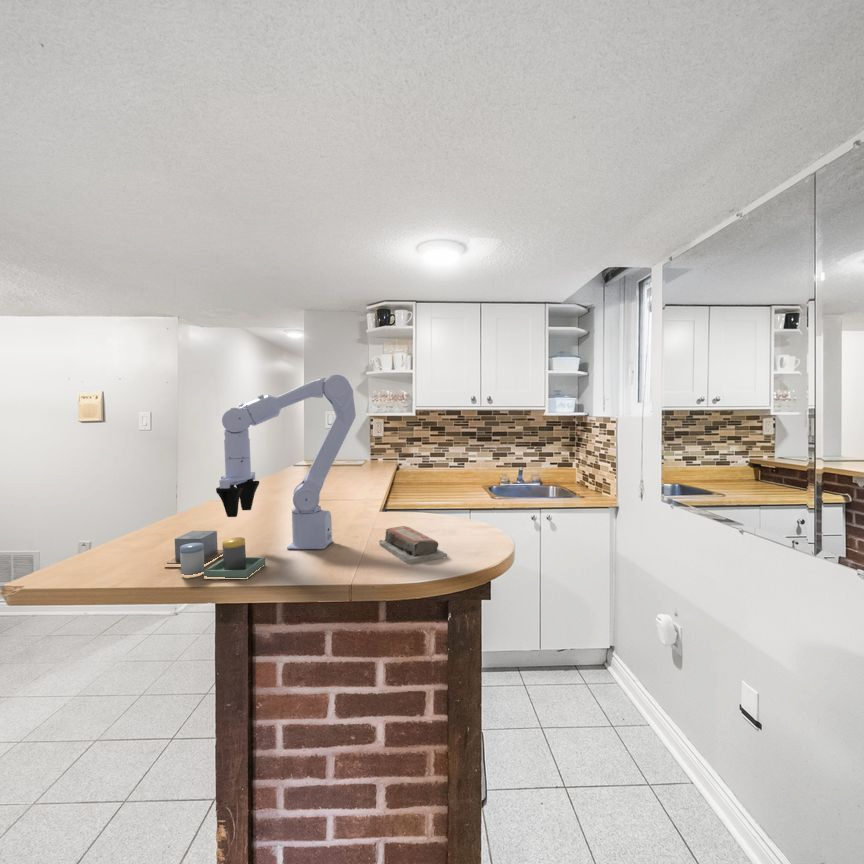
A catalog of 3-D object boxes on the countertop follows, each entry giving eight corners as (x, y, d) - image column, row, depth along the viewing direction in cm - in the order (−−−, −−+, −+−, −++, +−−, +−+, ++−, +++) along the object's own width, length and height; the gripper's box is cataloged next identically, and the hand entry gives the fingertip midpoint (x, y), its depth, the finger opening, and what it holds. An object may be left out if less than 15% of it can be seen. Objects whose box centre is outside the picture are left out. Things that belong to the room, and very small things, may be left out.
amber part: (249, 565, 101) (248, 537, 100) (240, 572, 96) (239, 543, 96) (230, 565, 101) (228, 537, 100) (219, 573, 96) (218, 543, 96)
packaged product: (377, 527, 117) (413, 522, 122) (378, 546, 117) (413, 541, 122) (408, 544, 101) (447, 538, 106) (408, 566, 101) (448, 559, 106)
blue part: (208, 571, 99) (207, 542, 99) (197, 578, 95) (196, 548, 95) (188, 571, 100) (187, 542, 99) (176, 578, 95) (175, 548, 95)
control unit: (227, 553, 112) (226, 529, 112) (204, 567, 102) (203, 540, 102) (190, 553, 112) (189, 529, 112) (164, 567, 102) (163, 540, 102)
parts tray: (265, 565, 103) (265, 557, 103) (247, 579, 94) (246, 570, 94) (225, 565, 103) (225, 557, 103) (203, 579, 94) (203, 570, 94)
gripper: (235, 455, 120) (237, 507, 121) (205, 461, 106) (207, 520, 106) (262, 455, 120) (264, 507, 120) (235, 460, 105) (237, 519, 106)
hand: (239, 513), depth 113 cm, fingers open, 7 cm apart
